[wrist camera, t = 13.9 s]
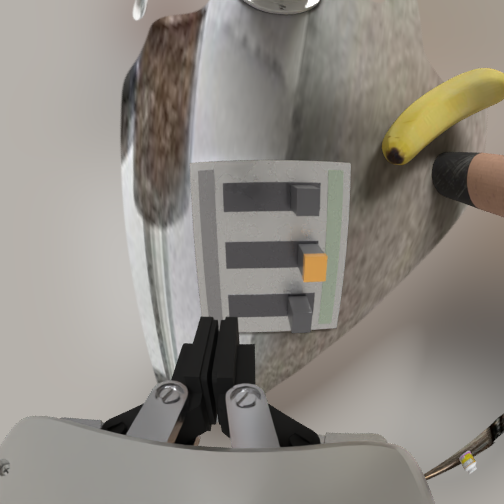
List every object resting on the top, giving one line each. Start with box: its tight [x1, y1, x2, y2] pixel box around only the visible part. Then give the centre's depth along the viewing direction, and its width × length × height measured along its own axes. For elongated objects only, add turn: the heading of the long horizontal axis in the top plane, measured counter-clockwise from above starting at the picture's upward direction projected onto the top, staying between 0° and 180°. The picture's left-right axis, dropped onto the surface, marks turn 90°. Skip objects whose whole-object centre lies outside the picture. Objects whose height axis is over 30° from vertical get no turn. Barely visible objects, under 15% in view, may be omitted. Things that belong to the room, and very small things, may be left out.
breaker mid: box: [298, 244, 328, 282], centre depth 33 cm, size 3×3×5 cm
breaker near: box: [291, 185, 320, 216], centre depth 31 cm, size 3×2×4 cm
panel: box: [190, 160, 351, 332], centre depth 36 cm, size 24×20×2 cm
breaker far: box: [288, 296, 313, 333], centre depth 36 cm, size 3×2×4 cm
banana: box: [382, 68, 504, 165], centre depth 21 cm, size 23×6×20 cm, turn 131°
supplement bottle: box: [459, 451, 477, 474], centre depth 65 cm, size 7×7×13 cm
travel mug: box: [432, 152, 504, 217], centre depth 24 cm, size 8×8×20 cm
